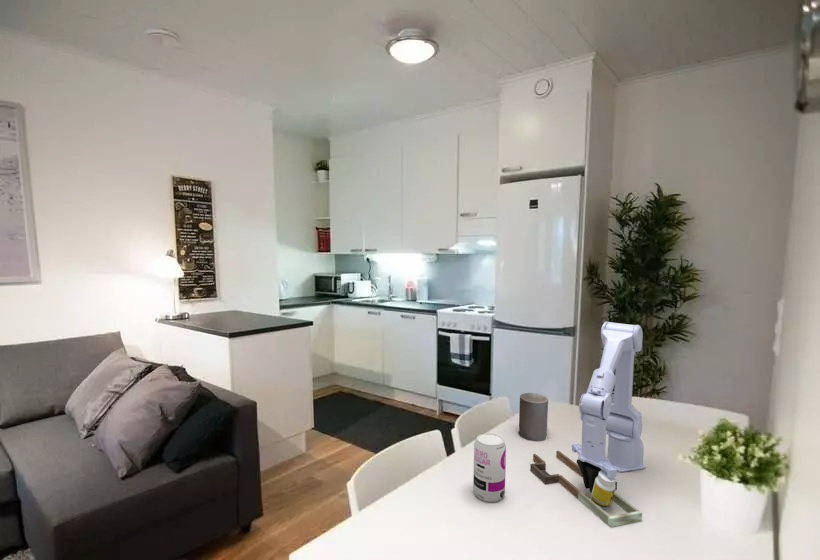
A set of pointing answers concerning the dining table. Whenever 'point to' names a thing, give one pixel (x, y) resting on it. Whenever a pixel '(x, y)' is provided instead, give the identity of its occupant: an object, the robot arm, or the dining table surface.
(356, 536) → the dining table surface
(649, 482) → the dining table surface
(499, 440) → the supplement can
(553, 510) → the dining table surface
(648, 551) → the dining table surface
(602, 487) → the supplement bottle
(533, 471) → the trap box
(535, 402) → the pillar candle
